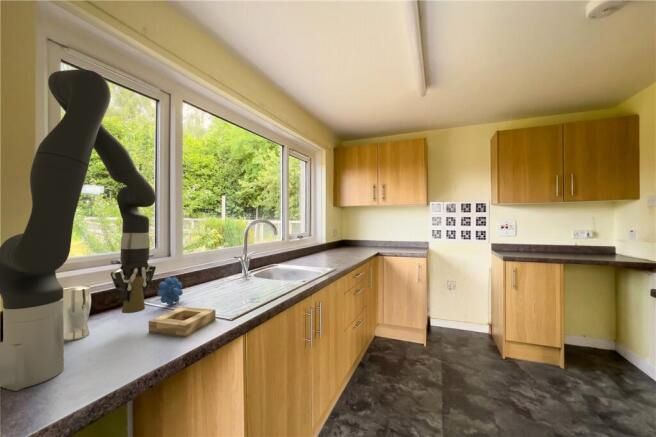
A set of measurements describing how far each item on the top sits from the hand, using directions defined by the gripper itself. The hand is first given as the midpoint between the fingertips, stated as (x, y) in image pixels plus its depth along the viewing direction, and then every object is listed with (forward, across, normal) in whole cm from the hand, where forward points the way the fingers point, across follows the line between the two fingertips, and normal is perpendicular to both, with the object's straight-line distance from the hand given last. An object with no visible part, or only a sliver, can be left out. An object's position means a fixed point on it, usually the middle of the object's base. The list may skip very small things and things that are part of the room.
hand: (133, 299), depth 84 cm
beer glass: (+11, -7, +14) cm, 19 cm away
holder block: (+10, +8, -12) cm, 18 cm away
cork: (+4, 0, 0) cm, 4 cm away
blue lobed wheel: (+10, +24, +8) cm, 27 cm away
